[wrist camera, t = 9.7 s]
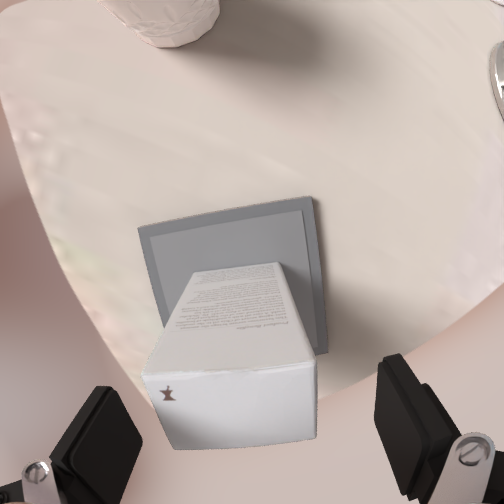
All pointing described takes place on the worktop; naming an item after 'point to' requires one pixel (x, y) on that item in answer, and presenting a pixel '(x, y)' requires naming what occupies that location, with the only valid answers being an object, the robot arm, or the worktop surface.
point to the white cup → (165, 19)
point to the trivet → (241, 254)
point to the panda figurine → (499, 2)
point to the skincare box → (234, 363)
